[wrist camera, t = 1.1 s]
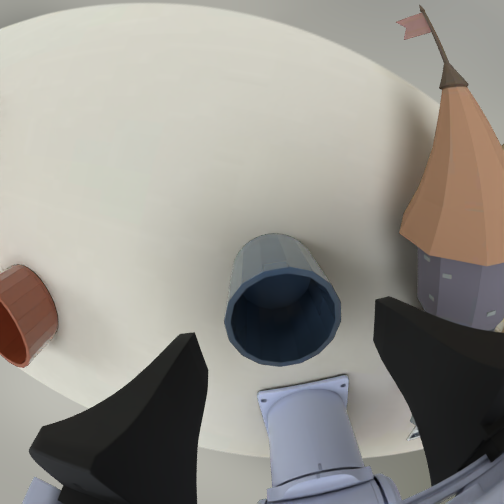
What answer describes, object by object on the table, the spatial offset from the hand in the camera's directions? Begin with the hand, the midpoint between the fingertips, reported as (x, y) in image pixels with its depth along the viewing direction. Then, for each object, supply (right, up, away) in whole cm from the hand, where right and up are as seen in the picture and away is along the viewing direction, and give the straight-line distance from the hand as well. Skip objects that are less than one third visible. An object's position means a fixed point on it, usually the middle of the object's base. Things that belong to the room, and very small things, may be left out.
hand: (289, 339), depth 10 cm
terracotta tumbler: (-23, -2, +9) cm, 24 cm away
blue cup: (0, +2, +8) cm, 8 cm away
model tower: (+17, -10, +7) cm, 21 cm away
